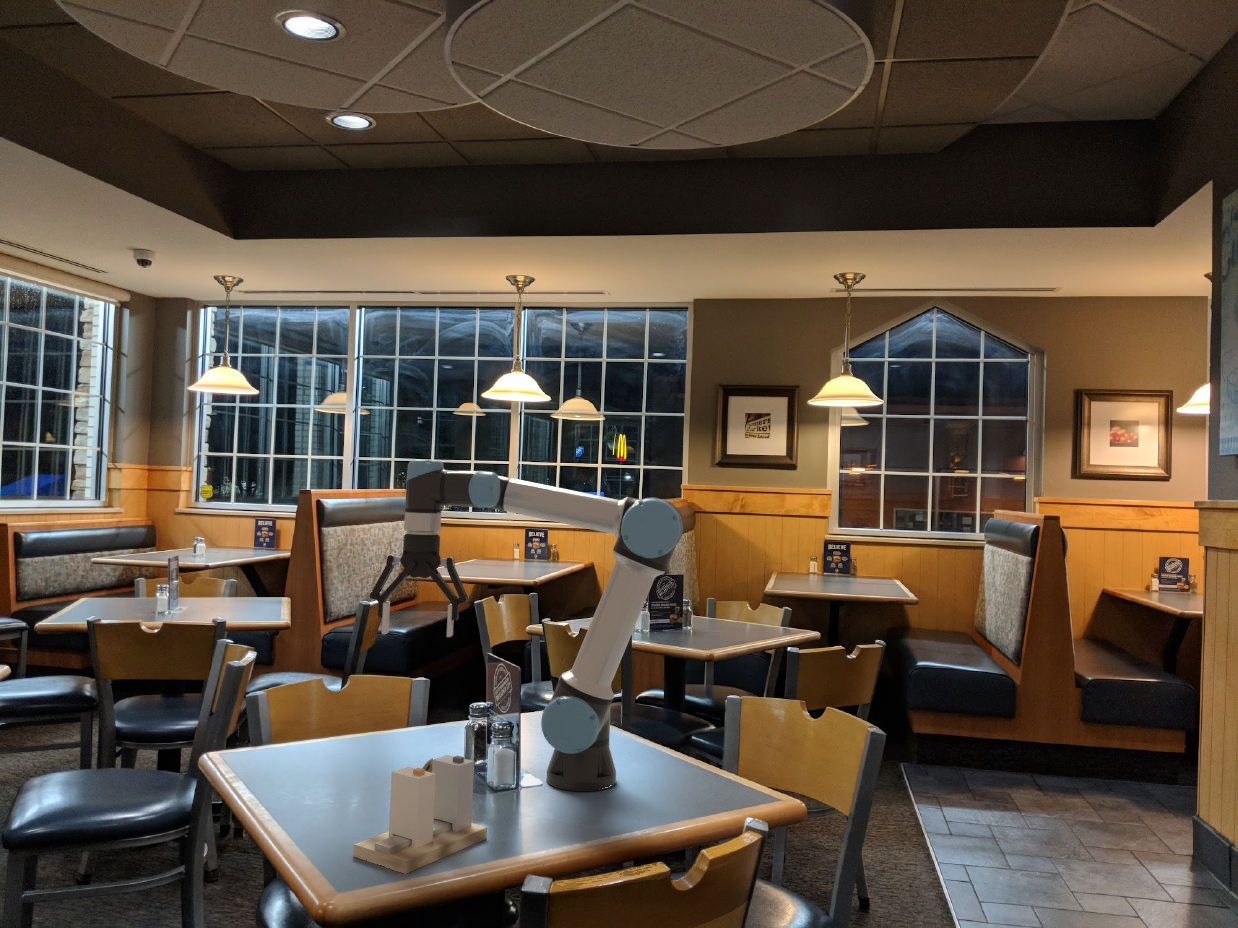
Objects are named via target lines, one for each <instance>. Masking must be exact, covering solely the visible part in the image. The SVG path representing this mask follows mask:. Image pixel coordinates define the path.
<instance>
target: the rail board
mask: <svg viewBox="0 0 1238 928" xmlns="http://www.w3.org/2000/svg"><path fill="white" fill-rule="evenodd" d="M452 825H453V823H449V822H446V821H442V820H439V819H437V820H434V821H433V841H432V842H430V843H427V844H425V845H422V846H420V847H417V848H414V847H412V839H408V838H405V837H402V836H399V835H395V836H392V837H389V830H388V831H387V832H384V833H383V832H382V833H380V834H378V835H376V836H373V837H370V838H368V839H364V840H362V841H360V842H357V843H354V844H353V857H354V858H357V859H360V860H363V861H366V860H367V861H366V862H369V863H372V864H374V865H377V864H378V865H377V866H380V865H382V866H381V867H383V866H385V867H384V868H386V869H389V868H390V869H389V870H392V871H396V872H399V873H402V874H404V875H406V874H408V873H409V874H410V872H413V871H416V870H418V869H421V868H422V867H425V866H426V865H429V864H431V863H434V862H436V861H438V860H441V859H443V858H445V857H448V856H450V855H452V854H454V853H457V852H459V851H461V850H463V849H466V848H468V847H470V846H473V845H476V844H477V843H479V842H482V841H484V840H487V839H488V838H487V837H488V836H487V835H488V827H487V826H483V825H480V824H478V823H473V822H472V824H471V826H469V827H466V828H464V829H461V830H459V831H453V830H452Z"/></svg>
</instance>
